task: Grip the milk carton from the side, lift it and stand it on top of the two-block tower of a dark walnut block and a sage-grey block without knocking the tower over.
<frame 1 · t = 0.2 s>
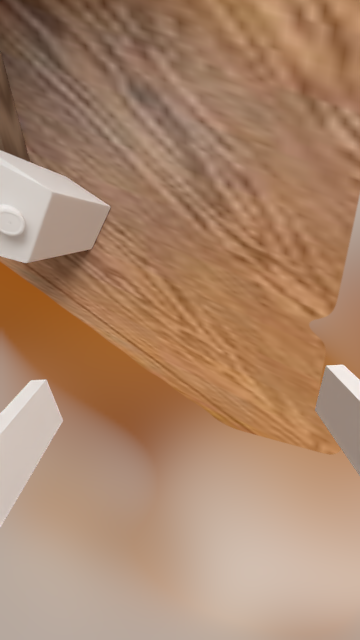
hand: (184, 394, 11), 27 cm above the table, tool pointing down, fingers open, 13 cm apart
milk carton: (80, 215, 33), on the table
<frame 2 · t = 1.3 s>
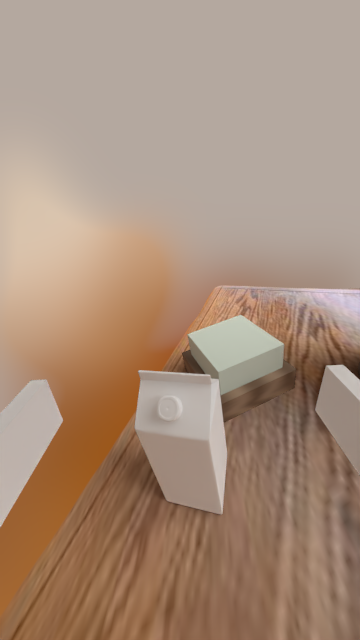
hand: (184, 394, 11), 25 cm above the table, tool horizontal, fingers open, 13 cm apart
milk carton: (198, 477, 30), on the table
tower base: (234, 379, 44), on the table, touching tower top
tower top: (232, 360, 42), point 4 cm above the table, touching tower base
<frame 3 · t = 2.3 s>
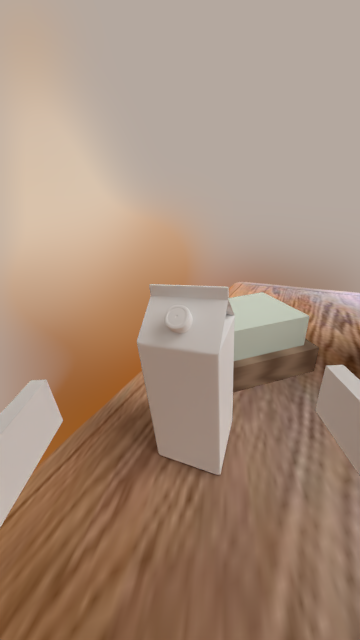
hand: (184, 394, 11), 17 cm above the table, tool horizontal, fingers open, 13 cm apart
milk carton: (197, 438, 27), on the table
tower base: (247, 358, 41), on the table, touching tower top
tower top: (249, 334, 39), point 4 cm above the table, touching tower base
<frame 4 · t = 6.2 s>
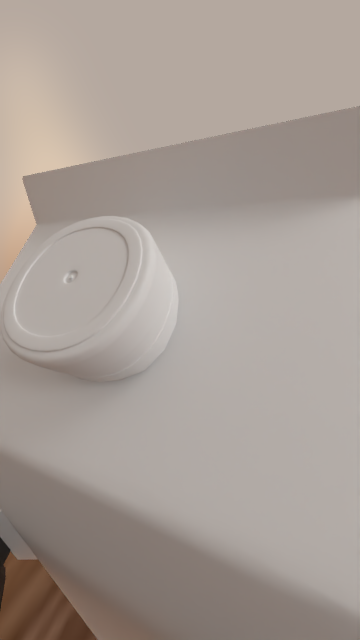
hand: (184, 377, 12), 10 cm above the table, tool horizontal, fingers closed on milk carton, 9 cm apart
milk carton: (196, 581, 12), on the table, touching gripper
when the fingers open (21 cm above the table, at t = 11.6 s): milk carton drops 2 cm, point 10 cm above the table.
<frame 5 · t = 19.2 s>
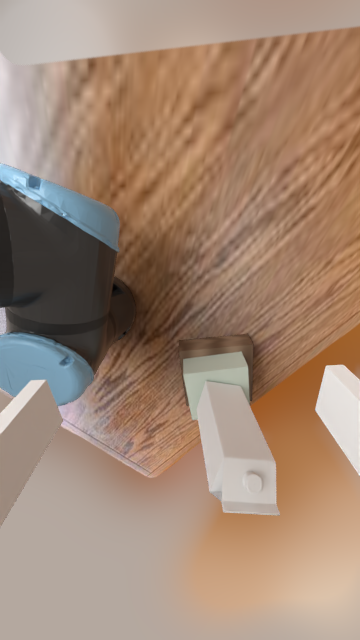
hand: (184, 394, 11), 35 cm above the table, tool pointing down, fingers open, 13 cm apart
milk carton: (217, 396, 44), point 10 cm above the table
tower base: (214, 363, 53), on the table, touching tower top
tower top: (214, 378, 48), point 4 cm above the table, touching tower base
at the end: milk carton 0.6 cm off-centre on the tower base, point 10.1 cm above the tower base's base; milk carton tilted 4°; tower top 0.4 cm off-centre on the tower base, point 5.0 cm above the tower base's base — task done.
